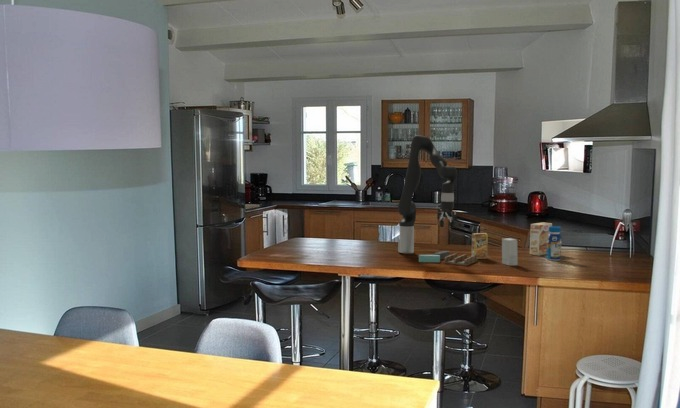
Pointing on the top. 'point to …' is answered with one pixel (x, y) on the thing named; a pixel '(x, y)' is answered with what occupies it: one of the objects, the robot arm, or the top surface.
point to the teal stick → (429, 258)
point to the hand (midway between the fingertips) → (446, 227)
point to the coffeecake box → (539, 238)
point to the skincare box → (509, 251)
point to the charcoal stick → (443, 254)
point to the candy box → (479, 245)
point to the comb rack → (460, 259)
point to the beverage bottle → (554, 243)
